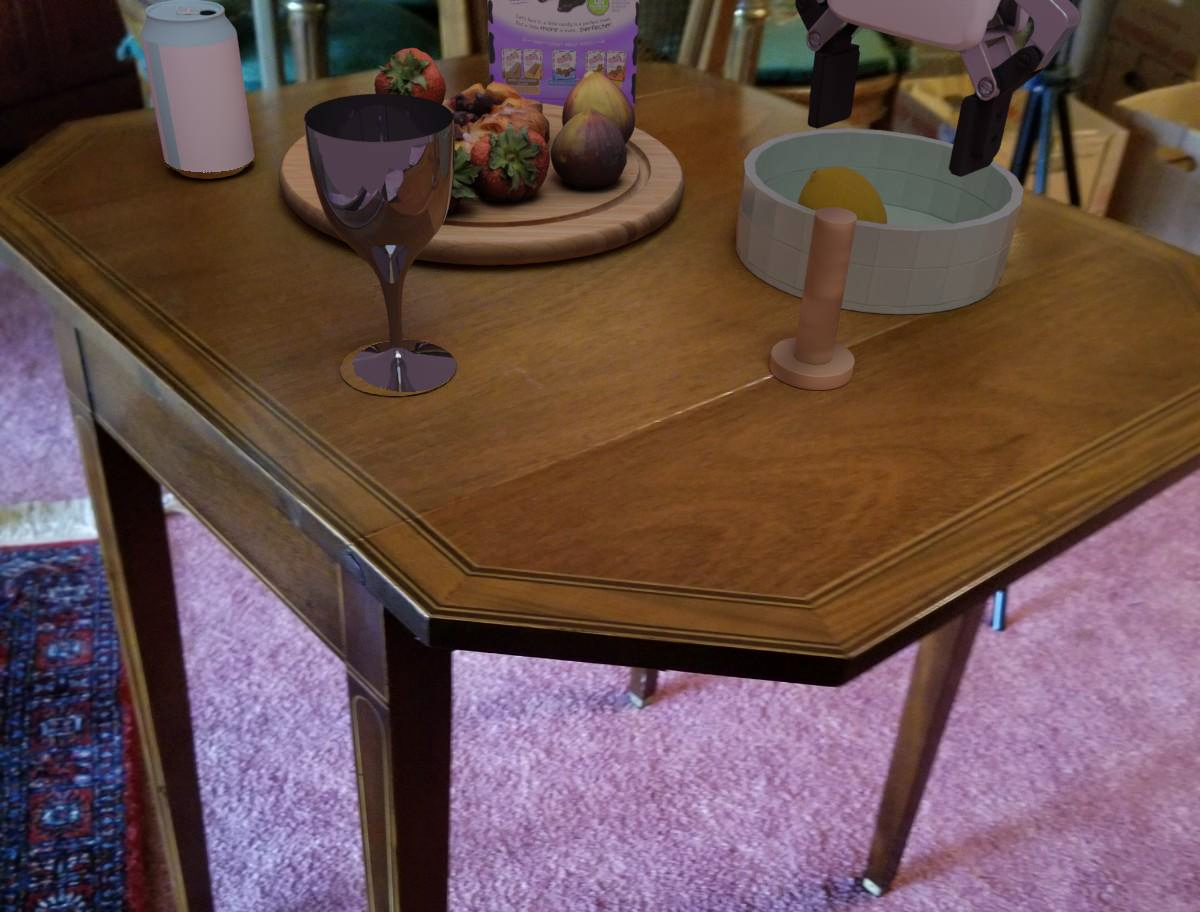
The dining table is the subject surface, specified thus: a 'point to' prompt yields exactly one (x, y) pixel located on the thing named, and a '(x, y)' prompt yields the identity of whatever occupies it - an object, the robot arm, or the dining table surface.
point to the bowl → (879, 251)
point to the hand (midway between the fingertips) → (896, 145)
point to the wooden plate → (526, 171)
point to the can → (197, 86)
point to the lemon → (843, 193)
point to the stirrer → (820, 310)
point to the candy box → (562, 45)
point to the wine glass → (386, 209)
